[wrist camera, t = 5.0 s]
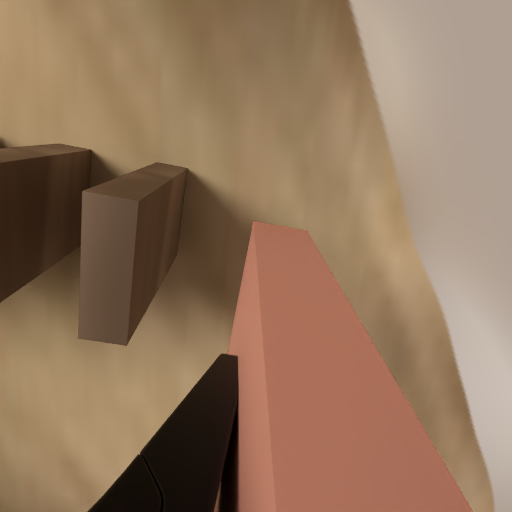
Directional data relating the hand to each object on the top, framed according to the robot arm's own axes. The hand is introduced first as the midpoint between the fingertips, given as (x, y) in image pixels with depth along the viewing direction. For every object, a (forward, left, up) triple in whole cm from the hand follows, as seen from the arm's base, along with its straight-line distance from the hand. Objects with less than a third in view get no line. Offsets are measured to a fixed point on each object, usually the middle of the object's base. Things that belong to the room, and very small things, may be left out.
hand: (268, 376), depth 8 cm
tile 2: (-10, 0, -13) cm, 16 cm away
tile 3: (-5, 0, -13) cm, 14 cm away
